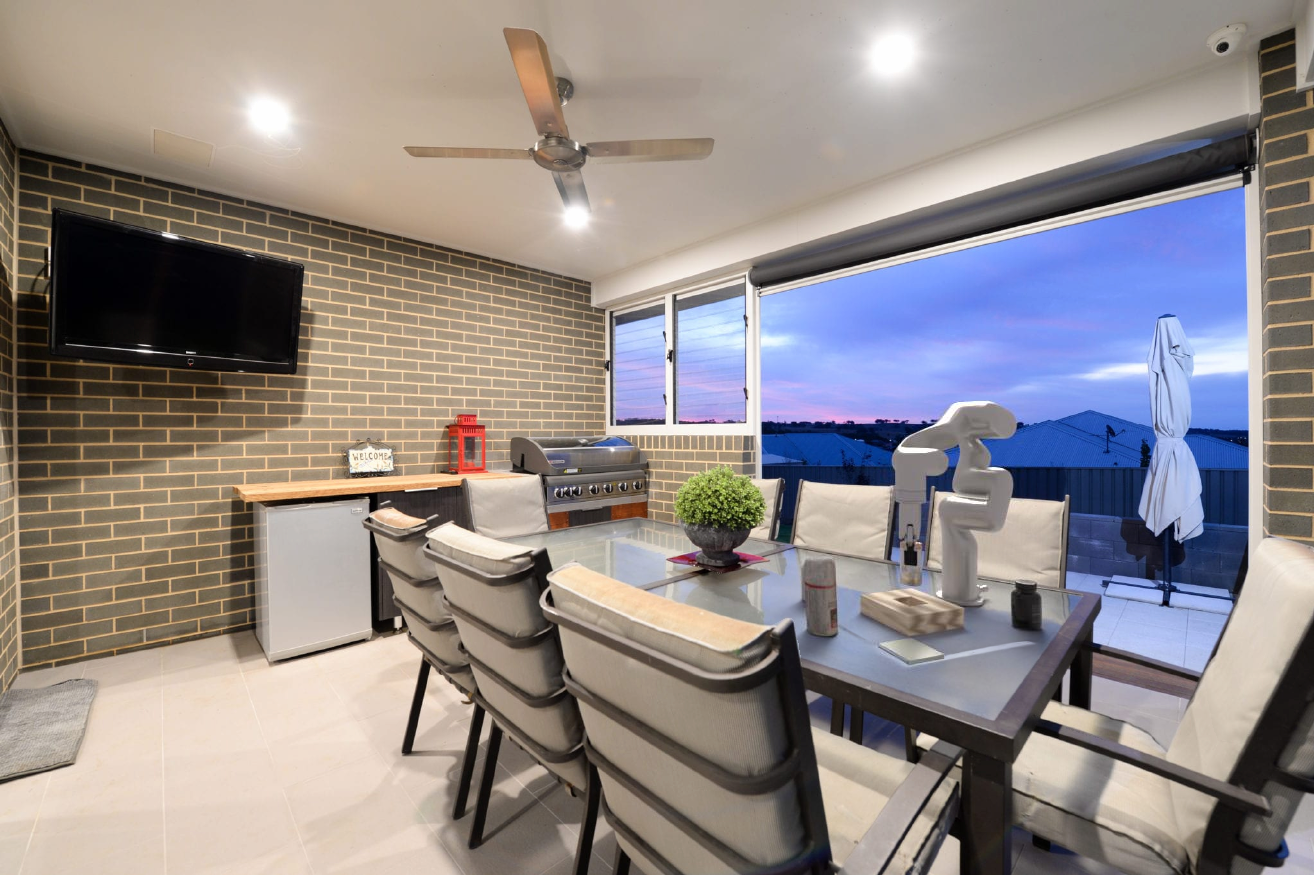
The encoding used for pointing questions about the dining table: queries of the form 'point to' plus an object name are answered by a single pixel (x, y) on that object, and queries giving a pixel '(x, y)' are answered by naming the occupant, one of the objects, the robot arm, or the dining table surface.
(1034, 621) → the supplement bottle
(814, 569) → the spray can
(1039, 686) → the dining table surface
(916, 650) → the pad
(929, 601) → the housing
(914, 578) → the copper topped silver cylinder
